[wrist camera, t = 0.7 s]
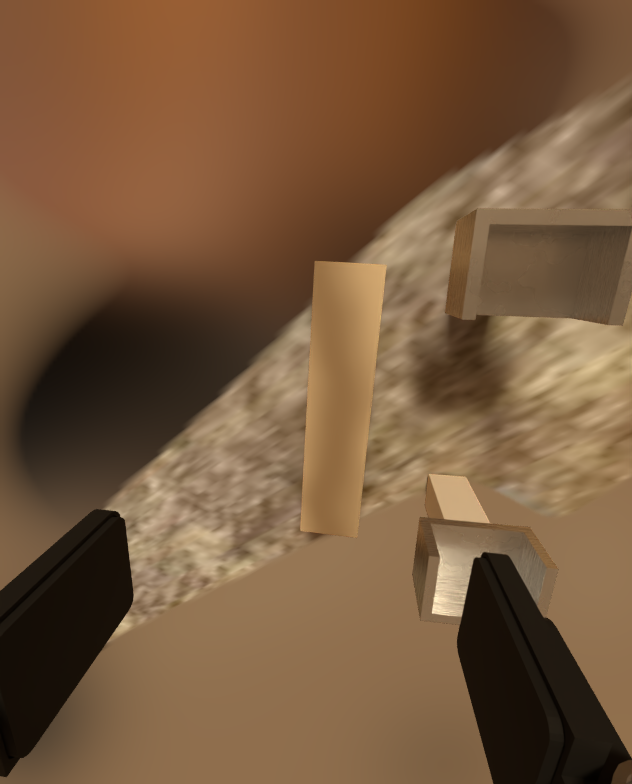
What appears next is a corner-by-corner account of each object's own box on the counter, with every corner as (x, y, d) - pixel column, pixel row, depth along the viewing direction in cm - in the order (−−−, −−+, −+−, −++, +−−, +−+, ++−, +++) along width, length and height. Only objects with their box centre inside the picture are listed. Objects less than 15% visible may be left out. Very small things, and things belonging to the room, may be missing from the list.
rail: (380, 268, 27) (386, 265, 21) (358, 485, 33) (357, 537, 26) (326, 265, 28) (314, 260, 21) (312, 480, 33) (300, 530, 26)
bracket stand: (533, 238, 25) (653, 209, 15) (482, 518, 32) (541, 634, 21) (430, 236, 26) (477, 208, 16) (401, 511, 33) (420, 620, 22)
